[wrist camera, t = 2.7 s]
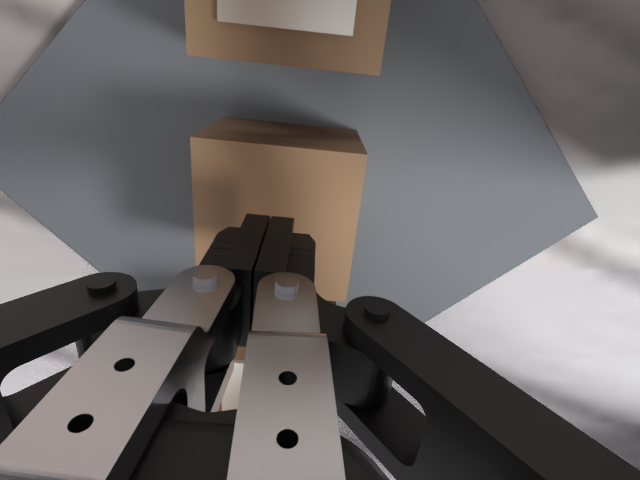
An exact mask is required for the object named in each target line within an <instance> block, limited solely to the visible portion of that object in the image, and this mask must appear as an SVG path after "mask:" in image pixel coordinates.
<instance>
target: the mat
mask: <svg viewBox="0 0 640 480" xmlns="http://www.w3.org/2000/svg"><path fill="white" fill-rule="evenodd" d="M223 117H233V118H243V119H252V120H262V121H272V122H282V123H291V124H301V125H311V126H321V127H330V128H340V129H350V130H357V132H358V134H359V136H360V138H361V141H362V143H363V145H364V147H365V149H366V152H367V154H368V158H367V164H366V171H365V178H364V184H363V191H362V198H361V204H360V211H359V217H358V224H357V231H356V237H355V244H354V251H353V257H352V264H351V271H350V277H349V284H348V291H347V297H346V302H338V301H336V305H338V306H342V307H345V308H346V306H347V304H348V303H349V301H351V300H352V299H354V298H357V297H361V296H376V297H381V298H384V299H387V300H390V301H392V302H394V303H395V304H397V305H398V306H400V307H401V308H403V309H404V310H406V311H407V312H409V313H410V314H412V315H413V316H414V317H416V318H417V319H419V320H420V321H422V322H423V323H424V322H426V321H428V320H429V319H431V318H433V317H434V316H436V315H438V314H439V313H441V312H442V311H444V310H446V309H447V308H449V307H451V306H452V305H454V304H456V303H457V302H459V301H461V300H462V299H464V298H466V297H467V296H469V295H471V294H472V293H474V292H475V291H477V290H479V289H480V288H482V287H484V286H485V285H487V284H489V283H490V282H492V281H494V280H495V279H497V278H499V277H500V276H502V275H503V274H505V273H507V272H508V271H510V270H512V269H513V268H515V267H517V266H518V265H520V264H522V263H523V262H525V261H527V260H528V259H530V258H531V257H533V256H535V255H536V254H538V253H540V252H541V251H543V250H545V249H546V248H548V247H550V246H551V245H553V244H555V243H556V242H558V241H559V240H561V239H563V238H564V237H566V236H568V235H569V234H571V233H573V232H574V231H576V230H578V229H579V228H581V227H583V226H584V225H586V224H588V223H589V222H591V221H592V220H594V219H596V218H597V217H598V216H597V214H596V213H595V211H594V209H593V207H592V205H591V204H590V202H589V200H588V198H587V197H586V195H585V193H584V191H583V189H582V188H581V186H580V184H579V182H578V181H577V179H576V177H575V175H574V173H573V172H572V170H571V168H570V166H569V164H568V163H567V161H566V159H565V157H564V156H563V154H562V152H561V150H560V148H559V147H558V145H557V143H556V141H555V140H554V138H553V136H552V134H551V132H550V131H549V129H548V127H547V125H546V123H545V122H544V120H543V118H542V116H541V115H540V113H539V111H538V109H537V107H536V106H535V104H534V102H533V100H532V99H531V97H530V95H529V93H528V91H527V90H526V88H525V86H524V84H523V82H522V81H521V79H520V77H519V75H518V74H517V72H516V70H515V68H514V66H513V65H512V63H511V61H510V59H509V58H508V56H507V54H506V52H505V50H504V49H503V47H502V45H501V43H500V41H499V40H498V38H497V36H496V34H495V33H494V31H493V29H492V27H491V25H490V24H489V22H488V20H487V18H486V16H485V15H484V13H483V11H482V9H481V8H480V6H479V4H478V2H477V0H391V5H390V12H389V18H388V25H387V32H386V38H385V45H384V51H383V58H382V65H381V71H380V76H377V75H368V74H358V73H349V72H340V71H330V70H321V69H312V68H302V67H293V66H284V65H274V64H265V63H256V62H247V61H237V60H228V59H219V58H209V57H200V56H191V55H187V52H186V28H185V5H184V0H85V1H84V2H83V4H82V5H81V6H80V7H79V9H78V10H77V11H76V12H75V13H74V15H73V16H72V17H71V18H70V20H69V21H68V22H67V23H66V24H65V26H64V27H63V28H62V29H61V31H60V32H59V33H58V34H57V35H56V37H55V38H54V39H53V40H52V42H51V43H50V44H49V45H48V46H47V48H46V49H45V50H44V51H43V53H42V54H41V55H40V56H39V57H38V59H37V60H36V61H35V62H34V64H33V65H32V66H31V67H30V68H29V70H28V71H27V72H26V73H25V75H24V76H23V77H22V78H21V79H20V81H19V82H18V83H17V84H16V86H15V87H14V88H13V89H12V90H11V92H10V93H9V94H8V95H7V97H6V98H5V99H4V100H3V101H2V103H1V104H0V190H1V191H3V192H4V193H5V194H6V195H8V196H9V197H10V198H11V199H12V200H14V201H15V202H16V203H17V204H18V205H20V206H21V207H22V208H23V209H24V210H26V211H27V212H28V213H29V214H30V215H32V216H33V217H34V218H35V219H37V220H38V221H39V222H40V223H41V224H43V225H44V226H45V227H46V228H47V229H49V230H50V231H51V232H52V233H53V234H55V235H56V236H57V237H58V238H59V239H61V240H62V241H63V242H64V243H65V244H67V245H68V246H69V247H70V248H72V249H73V250H74V251H75V252H76V253H78V254H79V255H80V256H81V257H82V258H84V259H85V260H86V261H87V262H88V263H90V264H91V265H92V266H93V267H94V268H96V269H97V270H98V271H99V272H101V273H102V272H120V273H125V274H128V275H130V276H132V277H133V278H134V279H135V280H136V282H137V289H138V291H146V290H157V289H165V288H167V287H168V285H169V284H170V283H171V282H172V281H173V279H174V278H175V277H176V276H177V275H178V274H179V273H180V272H181V271H183V270H185V269H188V268H190V267H194V266H196V263H195V240H194V216H193V193H192V169H191V146H190V137H191V136H193V135H194V134H196V133H198V132H199V131H201V130H203V129H205V128H206V127H208V126H210V125H211V124H213V123H215V122H216V121H218V120H220V119H222V118H223Z"/></svg>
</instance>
